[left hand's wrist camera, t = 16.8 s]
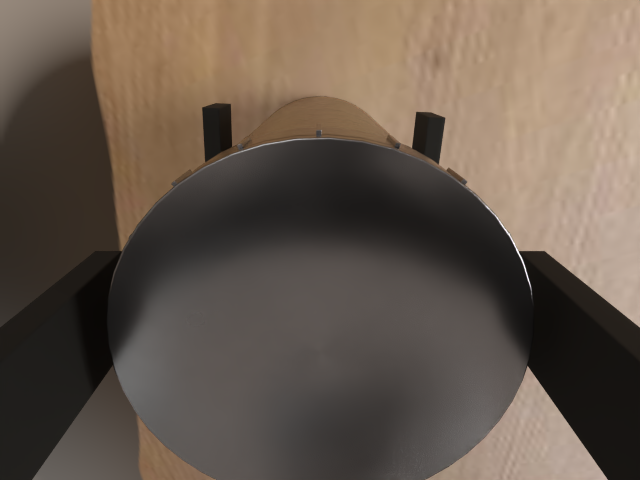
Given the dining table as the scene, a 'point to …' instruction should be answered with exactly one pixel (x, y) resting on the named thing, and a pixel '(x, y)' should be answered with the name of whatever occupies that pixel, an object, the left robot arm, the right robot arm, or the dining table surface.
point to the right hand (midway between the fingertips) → (323, 110)
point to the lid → (320, 312)
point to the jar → (319, 117)
